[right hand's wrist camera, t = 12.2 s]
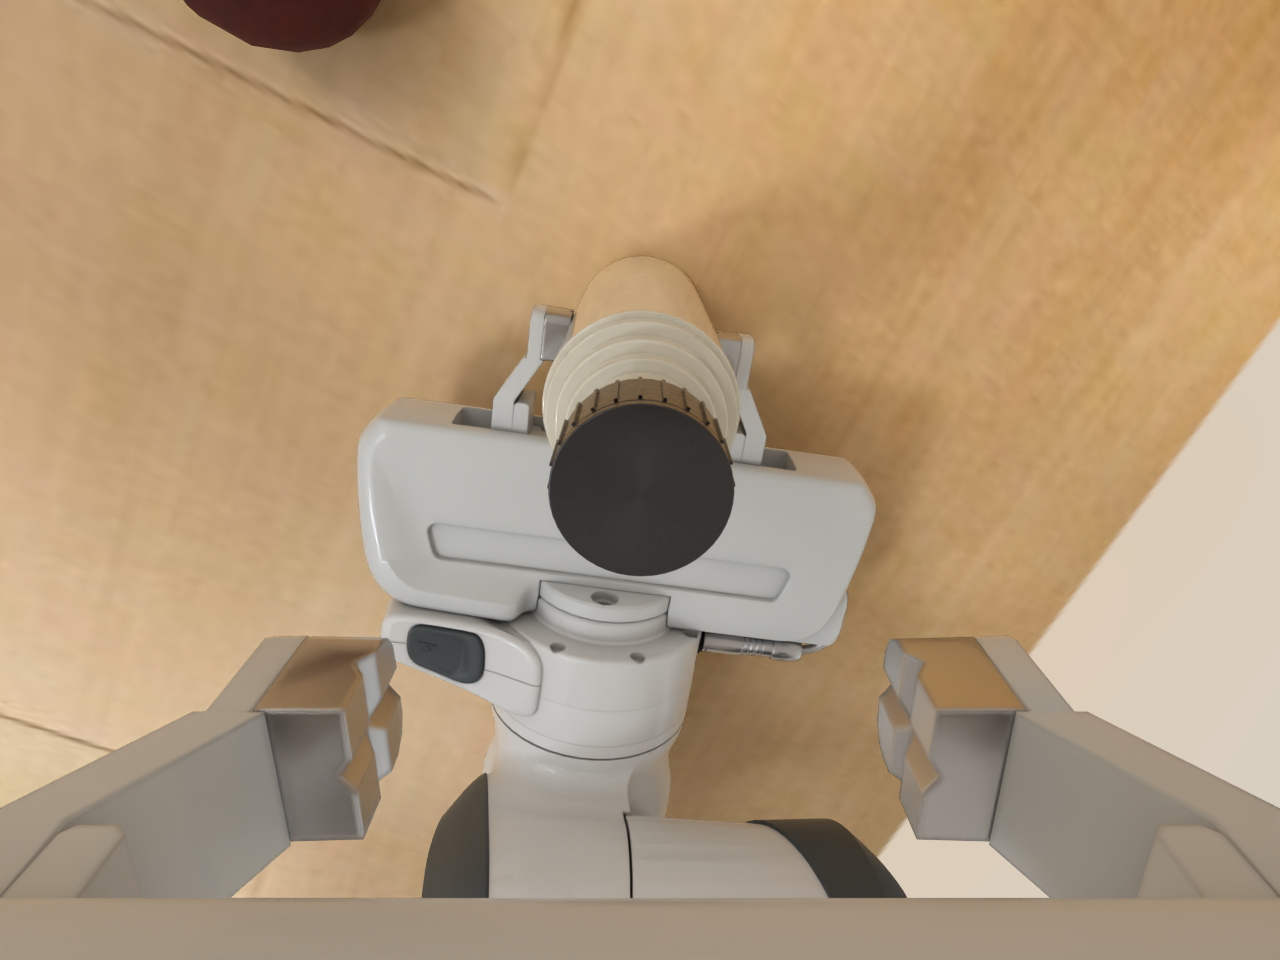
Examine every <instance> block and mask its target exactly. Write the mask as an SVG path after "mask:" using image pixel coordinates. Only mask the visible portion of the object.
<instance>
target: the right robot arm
mask: <svg viewBox="0 0 1280 960" xmlns="http://www.w3.org/2000/svg"><path fill="white" fill-rule="evenodd" d="M396 668H397V667H396V660H395V654H394V648H393V644H392V643H391V642H390V640H389V639H388V638H369V637H319V636H312V637H308V636H273V637H269V638H265V639H264V640H263V641H262V642H261V644H260V645H259V646H258V647H257V649H256V650H255V651H254V652H253V654H252V655H251V656H250V657H249V659H248V660H247V661H246V662H245V663H244V665H243V666H242V667H241V668H240V670H239V671H238V672H237V673H236V675H235V676H234V677H233V678H232V680H231V681H230V682H229V683H228V685H227V686H226V687H225V688H224V689H223V691H222V692H221V693H220V694H219V696H218V697H217V698H216V699H215V701H214V702H213V703H212V704H211V706H210V707H209V708H208V709H207V711H206V712H191V713H189V714H187V715H185V716H183V717H181V718H179V719H177V720H175V721H173V722H171V723H169V724H167V725H165V726H163V727H161V728H159V729H157V730H155V731H153V732H151V733H149V734H147V735H145V736H143V737H141V738H139V739H137V740H135V741H133V742H131V743H129V744H127V745H125V746H123V747H121V748H119V749H117V750H115V751H113V752H111V753H109V754H107V755H105V756H103V757H101V758H99V759H97V760H95V761H93V762H91V763H89V764H87V765H85V766H83V767H81V768H79V769H77V770H75V771H73V772H71V773H69V774H67V775H65V776H63V777H61V778H59V779H57V780H55V781H53V782H51V783H49V784H47V785H45V786H43V787H41V788H39V789H37V790H35V791H33V792H31V793H29V794H27V795H25V796H23V797H21V798H19V799H17V800H15V801H13V802H11V803H9V804H7V805H5V806H3V807H1V808H0V960H1280V808H1278V807H1276V806H1274V805H1272V804H1270V803H1268V802H1266V801H1264V800H1262V799H1260V798H1258V797H1256V796H1254V795H1252V794H1250V793H1248V792H1246V791H1244V790H1242V789H1240V788H1238V787H1236V786H1234V785H1232V784H1230V783H1228V782H1226V781H1224V780H1222V779H1220V778H1218V777H1216V776H1214V775H1212V774H1210V773H1208V772H1206V771H1204V770H1202V769H1200V768H1198V767H1196V766H1194V765H1192V764H1190V763H1188V762H1186V761H1184V760H1182V759H1180V758H1178V757H1176V756H1174V755H1172V754H1170V753H1168V752H1166V751H1164V750H1162V749H1160V748H1158V747H1156V746H1154V745H1152V744H1150V743H1148V742H1146V741H1144V740H1142V739H1140V738H1138V737H1136V736H1134V735H1132V734H1130V733H1128V732H1126V731H1124V730H1122V729H1120V728H1118V727H1116V726H1115V725H1112V724H1111V723H1108V722H1107V721H1105V720H1103V719H1101V718H1099V717H1097V716H1095V715H1093V714H1090V713H1089V712H1074V711H1073V709H1072V708H1071V707H1070V706H1069V704H1068V703H1067V702H1066V701H1065V699H1064V698H1063V697H1062V696H1061V695H1060V693H1059V692H1058V691H1057V690H1056V688H1055V687H1054V686H1053V685H1052V683H1051V682H1050V681H1049V680H1048V678H1047V677H1046V676H1045V675H1044V674H1043V672H1042V671H1041V670H1040V669H1039V667H1038V666H1037V665H1036V664H1035V662H1034V661H1033V660H1032V659H1031V658H1030V656H1029V655H1028V654H1027V653H1026V651H1025V650H1024V649H1023V648H1022V646H1021V645H1020V644H1019V643H1018V641H1017V640H1016V639H1014V638H1012V637H1010V636H981V637H954V638H914V639H890V640H889V643H888V646H887V648H886V652H885V659H884V666H883V668H884V670H885V672H886V674H887V676H888V678H889V680H890V682H891V685H890V686H889V687H888V689H887V690H886V691H885V692H884V693H883V694H882V695H881V696H880V698H879V708H878V719H877V720H878V735H879V743H880V748H881V752H882V756H883V759H884V761H885V764H886V767H887V769H888V772H890V773H891V774H893V775H894V776H895V777H897V778H898V779H900V780H901V788H900V795H899V798H900V801H901V803H902V806H903V808H904V810H905V813H906V815H907V817H908V820H909V822H910V824H911V827H912V829H913V831H914V834H915V836H916V839H924V840H959V841H990V843H989V845H990V846H991V847H992V848H994V849H995V850H996V851H997V852H998V853H999V854H1001V855H1002V856H1003V857H1004V858H1005V859H1006V860H1007V861H1009V862H1010V863H1011V864H1012V865H1013V866H1014V867H1015V868H1017V869H1018V870H1019V871H1020V872H1021V873H1022V874H1023V875H1025V876H1026V877H1027V878H1028V879H1029V880H1030V881H1031V882H1033V883H1034V884H1035V885H1036V886H1037V887H1038V888H1040V889H1041V890H1042V891H1043V892H1044V893H1045V894H1046V895H1048V896H1049V897H1050V898H230V897H232V896H233V895H234V894H235V893H236V892H237V891H239V890H240V889H241V888H242V887H243V886H244V885H245V884H247V883H248V882H249V881H250V880H251V879H252V878H253V877H255V876H256V875H257V874H258V873H259V872H260V871H262V870H263V869H264V868H265V867H266V866H267V865H268V864H270V863H271V862H272V861H273V860H274V859H275V858H276V857H278V856H279V855H280V854H281V853H282V852H283V851H285V850H286V849H287V848H288V847H289V846H290V841H320V840H355V839H364V837H365V834H366V832H367V829H368V827H369V825H370V822H371V820H372V818H373V815H374V813H375V810H376V808H377V806H378V803H379V801H380V798H381V795H380V788H379V780H380V779H382V778H383V777H385V776H386V775H387V774H389V773H390V772H392V769H393V767H394V764H395V761H396V759H397V756H398V752H399V747H400V741H401V736H402V706H401V698H400V696H399V695H398V694H397V693H396V692H395V691H394V690H393V689H392V687H391V686H390V685H389V682H390V680H391V678H392V676H393V674H394V672H395V670H396Z"/></svg>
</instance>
